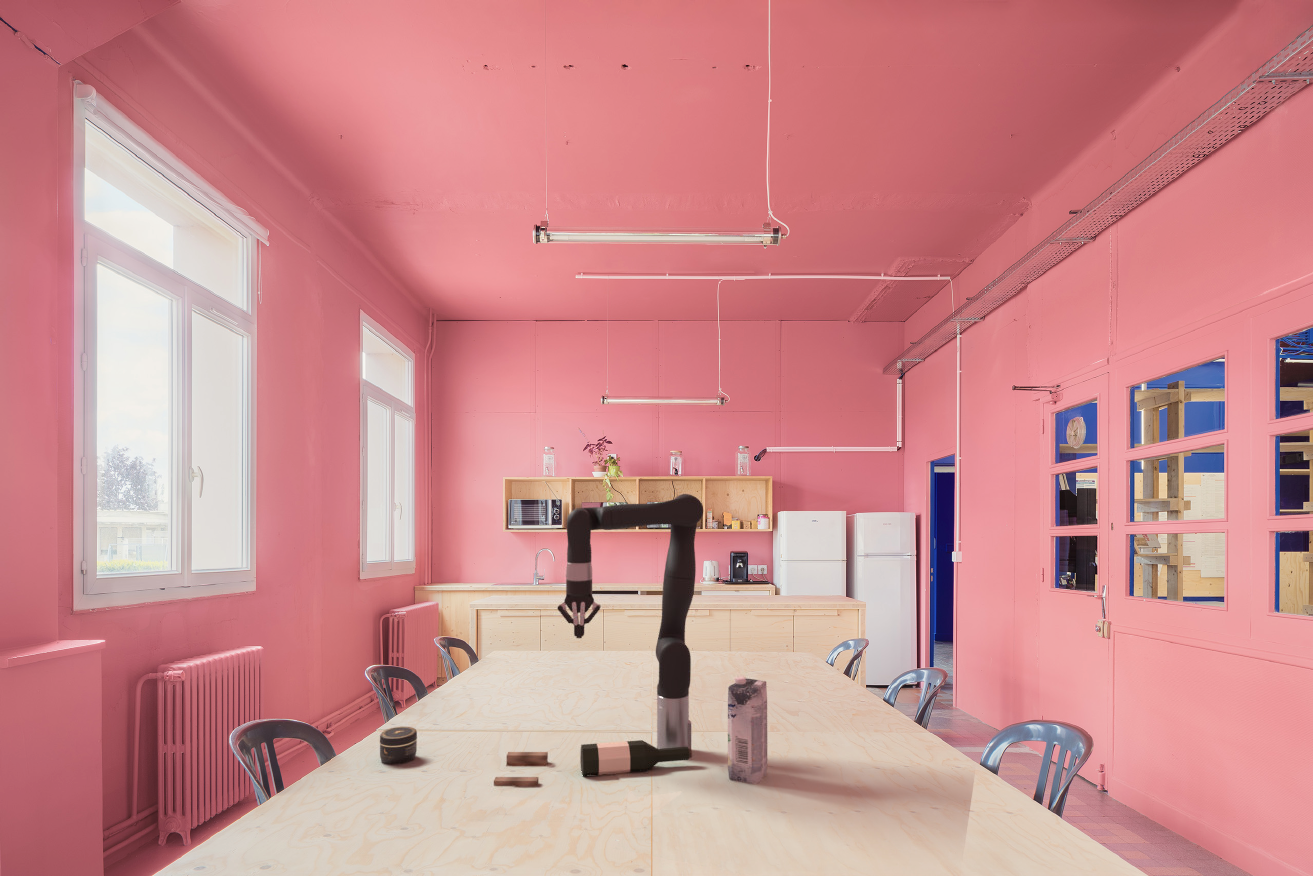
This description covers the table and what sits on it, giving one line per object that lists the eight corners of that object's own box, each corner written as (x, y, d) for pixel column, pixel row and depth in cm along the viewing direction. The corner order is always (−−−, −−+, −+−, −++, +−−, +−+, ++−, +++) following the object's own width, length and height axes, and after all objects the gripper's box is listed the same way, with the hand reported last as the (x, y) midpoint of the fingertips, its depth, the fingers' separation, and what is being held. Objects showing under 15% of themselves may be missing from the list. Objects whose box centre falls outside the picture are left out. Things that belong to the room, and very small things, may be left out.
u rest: (547, 762, 210) (547, 752, 210) (537, 793, 192) (537, 781, 192) (508, 762, 210) (508, 752, 210) (493, 793, 192) (493, 781, 192)
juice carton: (770, 777, 201) (769, 675, 202) (758, 793, 191) (757, 685, 192) (738, 771, 205) (737, 671, 205) (725, 786, 195) (724, 681, 196)
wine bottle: (583, 778, 196) (695, 769, 202) (582, 744, 200) (692, 736, 205) (581, 778, 204) (689, 769, 210) (579, 745, 207) (686, 737, 213)
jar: (371, 763, 210) (371, 735, 210) (396, 750, 219) (396, 724, 220) (400, 769, 206) (400, 740, 207) (424, 755, 216) (424, 728, 216)
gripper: (603, 575, 222) (602, 634, 222) (558, 575, 222) (558, 634, 222) (601, 579, 215) (601, 641, 214) (554, 579, 215) (554, 641, 214)
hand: (579, 637), depth 218 cm, fingers closed
